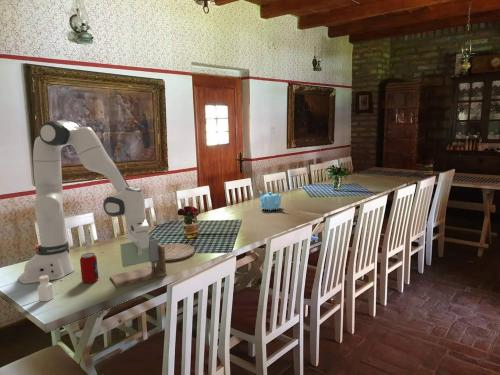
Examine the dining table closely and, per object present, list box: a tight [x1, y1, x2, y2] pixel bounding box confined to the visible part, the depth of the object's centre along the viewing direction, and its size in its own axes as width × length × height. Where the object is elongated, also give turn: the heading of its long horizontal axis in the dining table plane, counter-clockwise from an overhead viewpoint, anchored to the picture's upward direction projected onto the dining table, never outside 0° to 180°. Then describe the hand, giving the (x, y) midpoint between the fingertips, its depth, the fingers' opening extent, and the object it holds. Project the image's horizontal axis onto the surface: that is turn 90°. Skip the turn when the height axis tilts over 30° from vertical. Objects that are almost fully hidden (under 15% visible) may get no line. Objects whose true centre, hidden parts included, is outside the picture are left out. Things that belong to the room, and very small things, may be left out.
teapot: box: [259, 190, 283, 211], centre depth 292 cm, size 16×20×14 cm
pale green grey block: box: [119, 236, 159, 268], centre depth 169 cm, size 16×4×10 cm, turn 123°
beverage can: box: [79, 252, 99, 284], centre depth 165 cm, size 7×7×12 cm
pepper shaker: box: [37, 275, 55, 302], centre depth 148 cm, size 4×4×10 cm
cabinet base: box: [109, 242, 168, 288], centre depth 169 cm, size 22×12×13 cm, turn 123°
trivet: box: [155, 243, 195, 264], centre depth 198 cm, size 25×25×2 cm
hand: (138, 253), depth 168 cm, fingers closed on pale green grey block, 2 cm apart
